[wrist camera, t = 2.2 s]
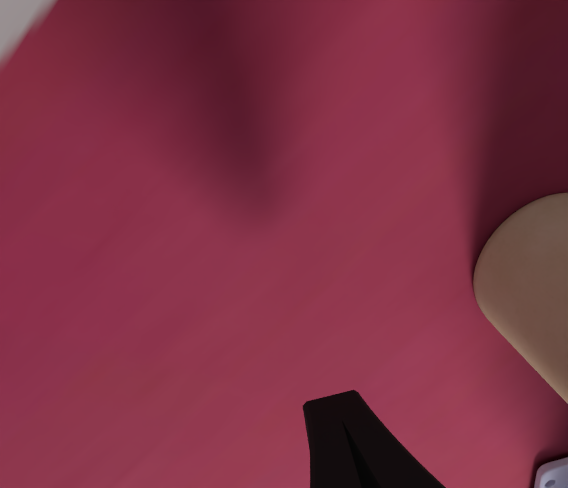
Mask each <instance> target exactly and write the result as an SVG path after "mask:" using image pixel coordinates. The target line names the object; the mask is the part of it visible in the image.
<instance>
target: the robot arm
mask: <svg viewBox="0 0 568 488" xmlns="http://www.w3.org/2000/svg"><path fill="white" fill-rule="evenodd" d="M303 411H304V417H305V424H306V430H307V436H308V443H309V449H310V488H446V487H444V486H443V485H442V484H441V483H440V482H439V481H438V480H437V479H436V478H435V477H434V476H433V475H432V474H431V473H429V472H428V471H427V470H426V469H425V468H424V467H423V466H422V465H421V464H420V463H419V462H418V461H417V460H416V459H415V458H414V457H413V456H412V455H411V454H410V453H409V452H408V450H407V449H406V448H405V447H404V446H403V445H402V444H401V443H400V442H399V441H398V440H397V439H396V438H395V437H394V436H393V435H392V433H391V432H390V431H389V430H388V429H387V428H386V427H385V426H384V424H383V423H382V422H381V421H380V420H379V419H378V417H377V416H376V415H375V414H374V413H373V411H372V410H371V409H370V408H369V406H368V405H367V404H366V402H365V401H364V400H363V399H362V397H361V396H360V394H359V393H358V392H357V391H355V390H351V391H347V392H343V393H339V394H335V395H331V396H327V397H323V398H319V399H315V400H311V401H307V402H306V403H305V404H304V405H303ZM534 488H568V457H567V458H563V459H560V460H556V461H552V462H549V463H546V464H543V465H542V466H540V468H539V469H538V471H537V474H536V480H535V486H534Z"/></svg>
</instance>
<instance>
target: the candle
mask: <svg viewBox="0 0 568 488" xmlns="http://www.w3.org/2000/svg"><path fill="white" fill-rule="evenodd" d="M473 288H474V294H475V298H476V301H477V303H478V305H479V307H480V309H481V310H482V312H483V313H484V315H485V316H486V318H487V319H488V320H489V321H490V322H491V323H492V324H493V325H494V327H495V328H496V329H497V330H498V331H499V332H500V333H501V334H502V335H503V336H504V337H505V338H506V339H507V340H508V342H509V343H510V344H511V345H512V346H513V347H514V348H515V349H516V350H517V351H518V352H519V353H520V354H521V355H522V356H523V357H524V358H525V359H526V360H527V362H528V363H529V364H530V365H531V366H532V367H533V368H534V369H535V370H536V371H537V372H538V373H539V374H540V375H541V376H542V377H543V378H544V379H545V380H546V382H547V383H548V384H549V385H550V386H551V387H552V388H553V389H554V390H555V391H556V392H557V393H558V394H559V395H560V396H561V397H562V398H563V399H564V400H565V402H566V403H567V404H568V193H558V194H553V195H549V196H546V197H543V198H540V199H537V200H535V201H533V202H531V203H529V204H527V205H525V206H524V207H522V208H520V209H519V210H518V211H516V212H515V213H513V214H512V215H511V216H510V217H508V218H507V219H506V220H505V221H504V222H503V223H502V224H501V225H500V226H499V227H498V228H497V229H496V230H495V232H494V233H493V234H492V235H491V237H490V238H489V239H488V241H487V243H486V244H485V246H484V248H483V249H482V252H481V254H480V256H479V258H478V261H477V264H476V267H475V272H474V279H473Z"/></svg>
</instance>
